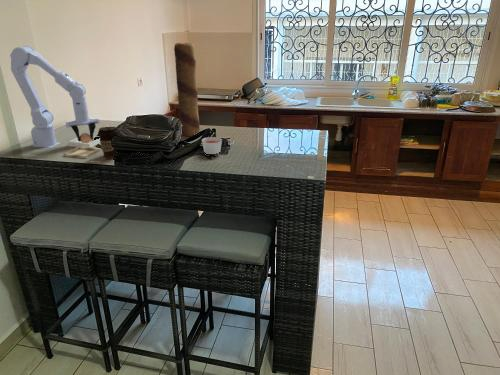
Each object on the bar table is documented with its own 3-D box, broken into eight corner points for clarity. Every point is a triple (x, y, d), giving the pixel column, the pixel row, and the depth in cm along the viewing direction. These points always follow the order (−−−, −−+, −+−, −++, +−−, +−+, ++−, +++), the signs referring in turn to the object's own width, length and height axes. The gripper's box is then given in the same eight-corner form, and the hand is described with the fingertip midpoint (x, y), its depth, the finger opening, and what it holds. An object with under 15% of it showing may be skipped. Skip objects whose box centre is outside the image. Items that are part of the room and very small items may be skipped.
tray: (64, 157, 169) (63, 154, 169) (79, 149, 179) (79, 146, 179) (86, 159, 167) (86, 156, 167) (101, 151, 177) (100, 148, 176)
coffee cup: (115, 161, 166) (111, 131, 161) (97, 159, 167) (92, 130, 162) (125, 154, 174) (121, 126, 168) (108, 153, 175) (104, 124, 170)
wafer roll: (175, 134, 204) (169, 42, 185) (189, 130, 212) (184, 41, 193) (189, 137, 198) (185, 44, 180) (203, 133, 206) (200, 43, 188)
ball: (78, 144, 184) (76, 134, 182) (84, 141, 189) (82, 131, 187) (87, 145, 183) (86, 135, 181) (93, 142, 188) (92, 132, 186)
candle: (211, 158, 171) (211, 144, 168) (198, 153, 177) (197, 140, 174) (226, 153, 177) (226, 140, 175) (212, 149, 183) (212, 136, 180)
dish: (68, 147, 182) (67, 141, 181) (82, 140, 192) (82, 135, 191) (90, 149, 180) (89, 143, 179) (103, 141, 190) (102, 137, 189)
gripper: (65, 115, 173) (70, 144, 179) (99, 111, 180) (103, 139, 186) (62, 112, 178) (68, 140, 184) (95, 108, 186) (99, 136, 191)
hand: (85, 140), depth 185 cm, fingers closed on ball, 5 cm apart
